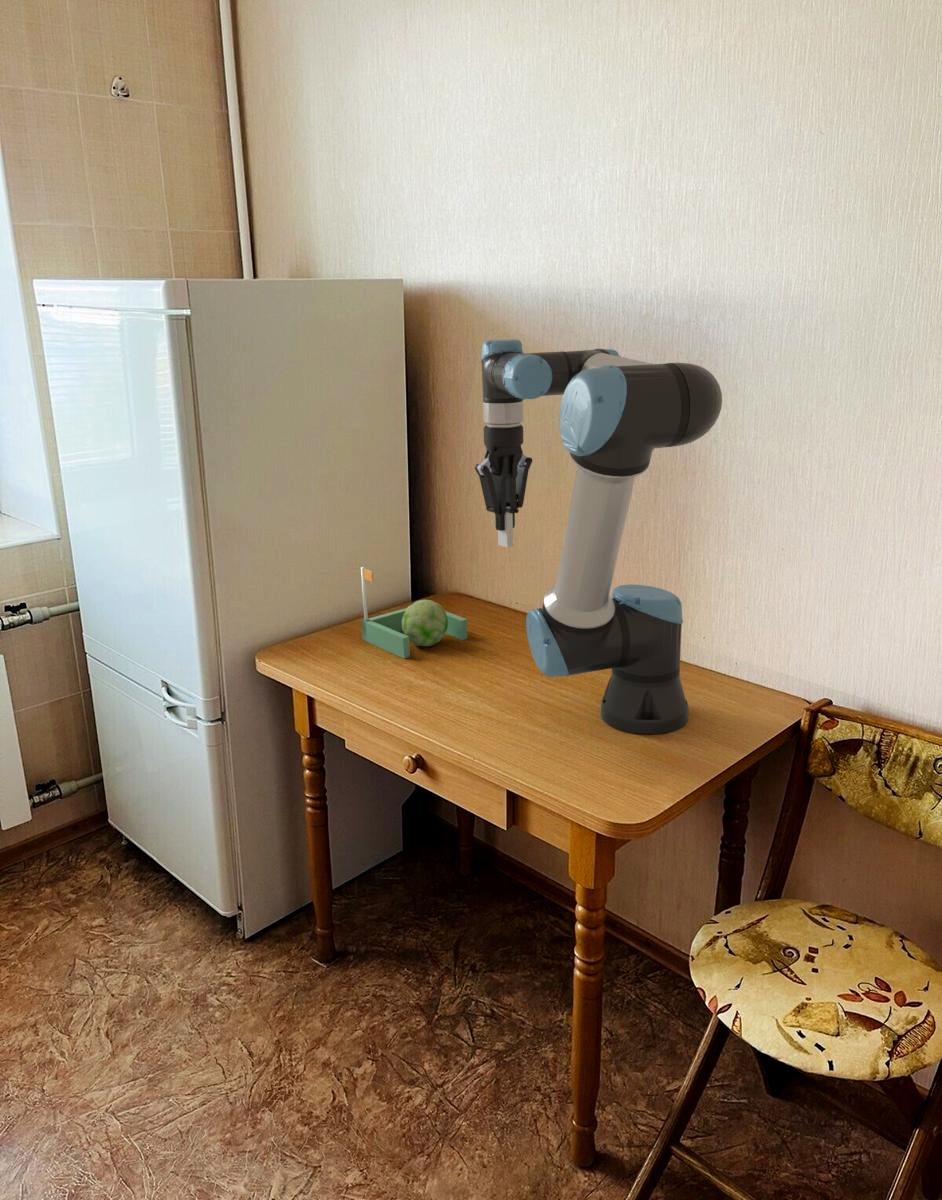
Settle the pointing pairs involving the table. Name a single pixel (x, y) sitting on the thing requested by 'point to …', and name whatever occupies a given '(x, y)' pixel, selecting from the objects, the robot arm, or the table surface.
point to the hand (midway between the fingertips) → (505, 545)
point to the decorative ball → (425, 622)
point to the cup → (398, 626)
